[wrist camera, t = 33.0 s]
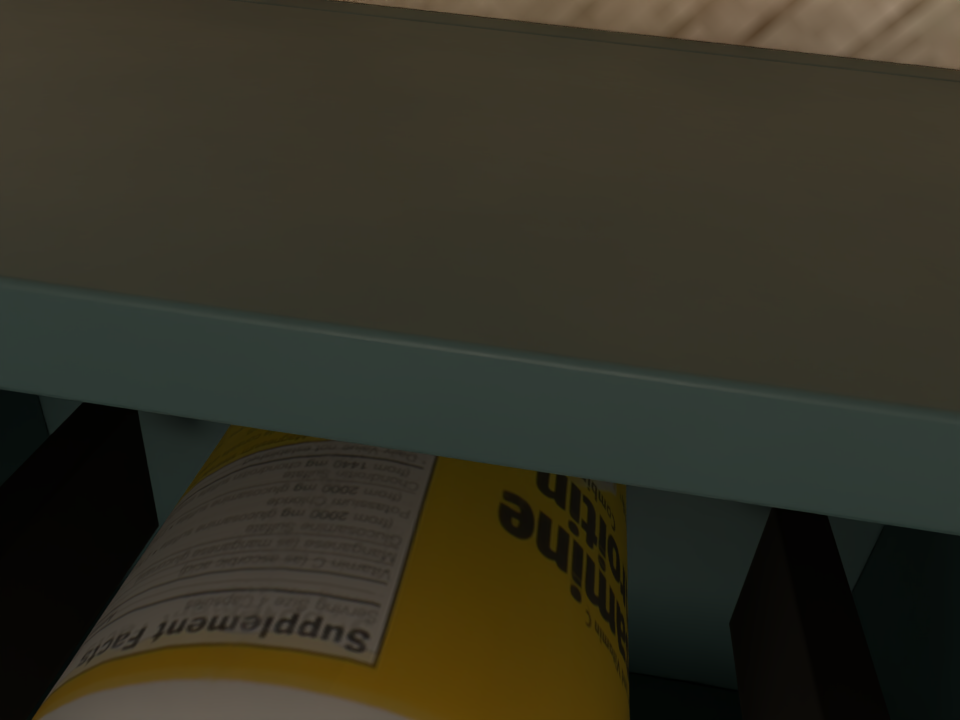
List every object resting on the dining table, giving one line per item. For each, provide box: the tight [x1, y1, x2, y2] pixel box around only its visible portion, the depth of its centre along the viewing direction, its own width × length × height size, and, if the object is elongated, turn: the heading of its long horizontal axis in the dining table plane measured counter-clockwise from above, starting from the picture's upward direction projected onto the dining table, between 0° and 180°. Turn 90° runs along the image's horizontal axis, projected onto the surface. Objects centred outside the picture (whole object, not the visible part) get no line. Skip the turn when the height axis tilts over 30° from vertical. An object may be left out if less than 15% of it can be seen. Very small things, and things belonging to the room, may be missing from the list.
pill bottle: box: [32, 425, 630, 720], centre depth 10 cm, size 6×6×12 cm
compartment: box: [0, 0, 960, 720], centre depth 12 cm, size 18×14×9 cm
